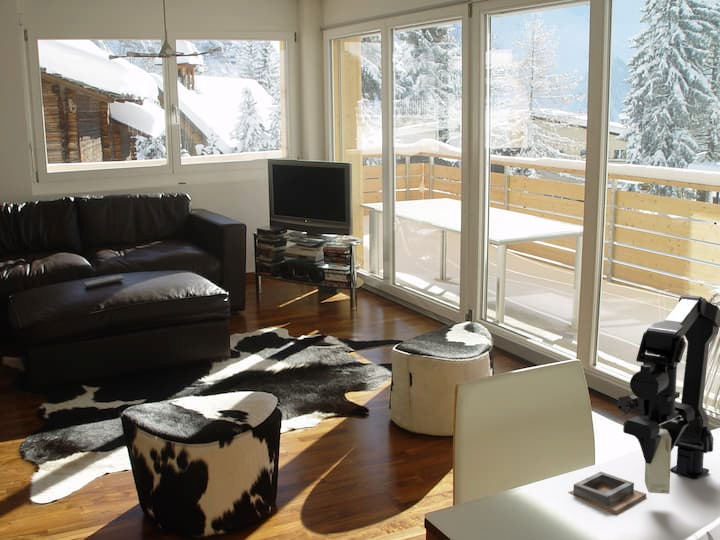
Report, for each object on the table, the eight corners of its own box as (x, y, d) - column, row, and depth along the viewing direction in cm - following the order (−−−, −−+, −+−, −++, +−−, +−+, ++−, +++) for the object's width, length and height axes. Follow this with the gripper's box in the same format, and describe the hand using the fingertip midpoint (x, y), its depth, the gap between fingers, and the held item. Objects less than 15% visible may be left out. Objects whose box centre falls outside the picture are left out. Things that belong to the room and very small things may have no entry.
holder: (598, 480, 188) (598, 468, 188) (646, 497, 179) (646, 484, 179) (567, 495, 181) (567, 483, 180) (615, 514, 172) (616, 500, 171)
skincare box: (670, 495, 170) (672, 439, 168) (648, 493, 171) (650, 438, 169) (665, 481, 176) (667, 428, 174) (643, 480, 177) (646, 427, 175)
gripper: (649, 370, 182) (646, 437, 185) (601, 388, 170) (599, 459, 173) (697, 381, 174) (693, 451, 176) (651, 400, 162) (647, 475, 164)
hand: (657, 458), depth 173 cm, fingers closed on skincare box, 7 cm apart
